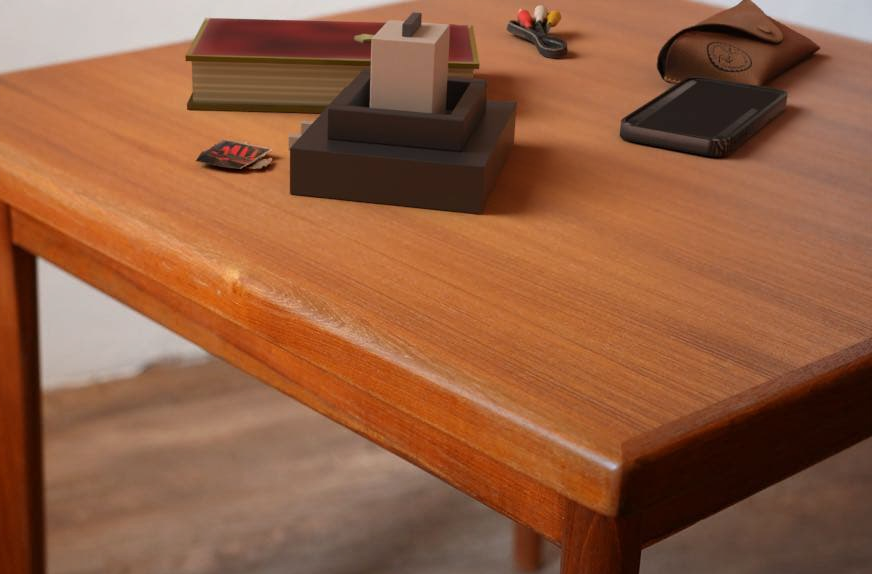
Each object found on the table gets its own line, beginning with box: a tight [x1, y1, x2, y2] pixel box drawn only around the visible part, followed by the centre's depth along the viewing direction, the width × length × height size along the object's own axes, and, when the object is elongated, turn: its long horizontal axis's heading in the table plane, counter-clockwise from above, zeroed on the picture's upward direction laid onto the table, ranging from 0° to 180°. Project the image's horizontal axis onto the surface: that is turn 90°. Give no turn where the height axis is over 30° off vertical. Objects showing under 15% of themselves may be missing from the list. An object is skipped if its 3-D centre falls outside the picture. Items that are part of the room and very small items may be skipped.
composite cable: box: [505, 4, 569, 59], centre depth 123 cm, size 10×5×2 cm, turn 179°
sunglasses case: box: [656, 0, 821, 87], centre depth 117 cm, size 18×7×7 cm
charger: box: [370, 11, 450, 114], centre depth 91 cm, size 4×5×7 cm
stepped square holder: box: [287, 69, 518, 215], centre depth 93 cm, size 14×14×5 cm
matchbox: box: [195, 139, 274, 170], centre depth 95 cm, size 5×5×1 cm
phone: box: [619, 76, 789, 157], centre depth 104 cm, size 8×1×15 cm
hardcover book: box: [185, 17, 480, 114], centre depth 109 cm, size 12×21×4 cm, turn 87°
